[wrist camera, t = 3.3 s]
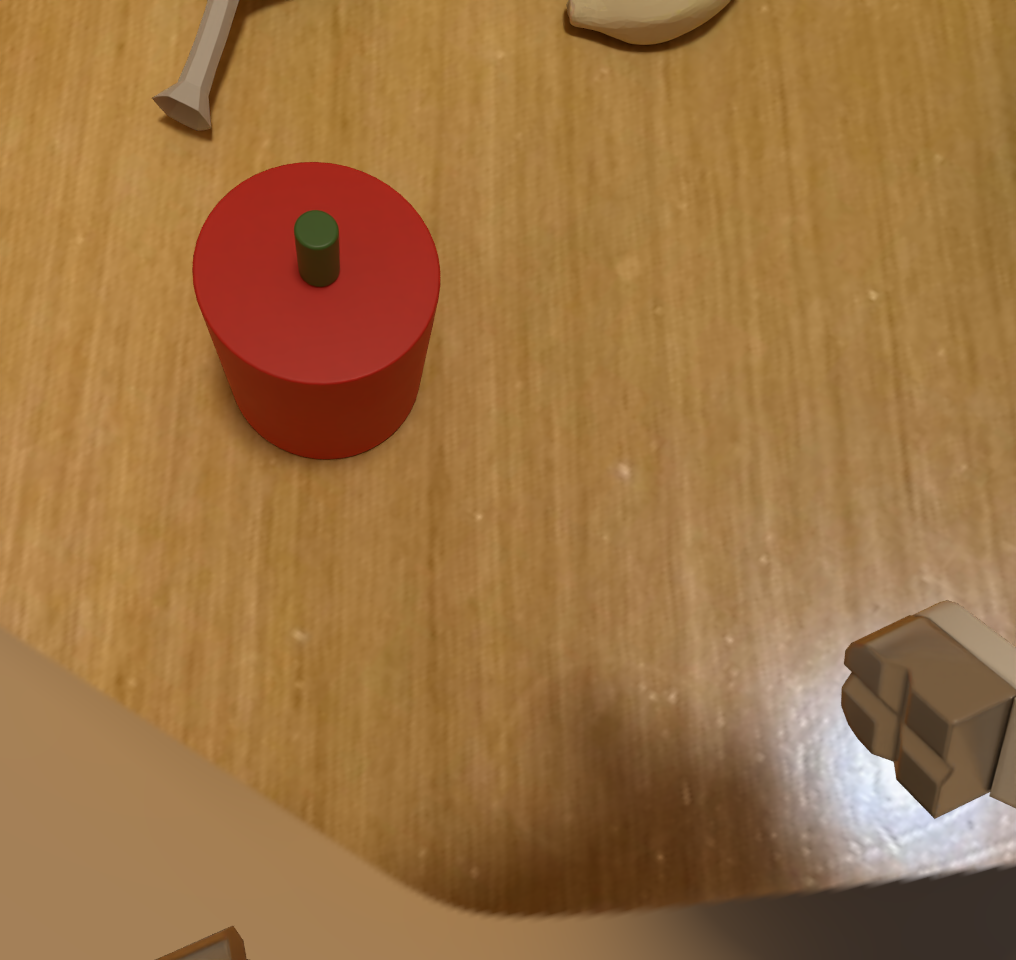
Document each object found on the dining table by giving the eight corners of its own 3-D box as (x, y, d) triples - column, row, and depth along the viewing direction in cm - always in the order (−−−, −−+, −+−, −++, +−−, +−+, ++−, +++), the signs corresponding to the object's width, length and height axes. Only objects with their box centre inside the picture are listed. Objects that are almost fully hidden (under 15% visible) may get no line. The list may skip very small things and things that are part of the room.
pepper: (436, 443, 29) (472, 334, 20) (244, 474, 28) (196, 371, 19) (401, 273, 30) (422, 101, 21) (217, 295, 29) (159, 122, 20)
